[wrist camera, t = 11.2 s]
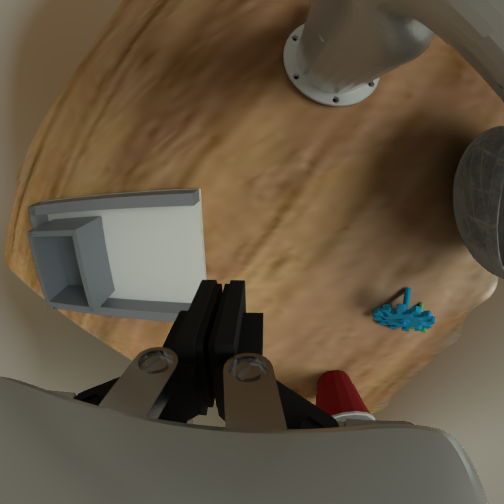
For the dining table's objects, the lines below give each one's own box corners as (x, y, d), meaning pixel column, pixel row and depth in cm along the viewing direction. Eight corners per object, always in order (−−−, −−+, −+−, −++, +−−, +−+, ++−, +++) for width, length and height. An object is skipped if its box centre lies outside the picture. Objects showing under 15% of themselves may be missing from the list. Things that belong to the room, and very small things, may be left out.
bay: (43, 200, 38) (28, 206, 34) (200, 188, 37) (193, 193, 33) (64, 297, 45) (53, 308, 41) (209, 308, 43) (204, 323, 39)
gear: (358, 317, 41) (412, 309, 32) (365, 282, 43) (416, 268, 34) (398, 338, 44) (447, 333, 35) (404, 306, 46) (450, 298, 37)
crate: (52, 219, 38) (25, 232, 32) (101, 216, 38) (75, 229, 31) (67, 286, 42) (45, 305, 36) (115, 290, 42) (95, 312, 36)
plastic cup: (296, 398, 50) (300, 449, 38) (312, 358, 46) (321, 412, 35) (348, 400, 50) (360, 448, 39) (369, 362, 46) (388, 412, 35)
